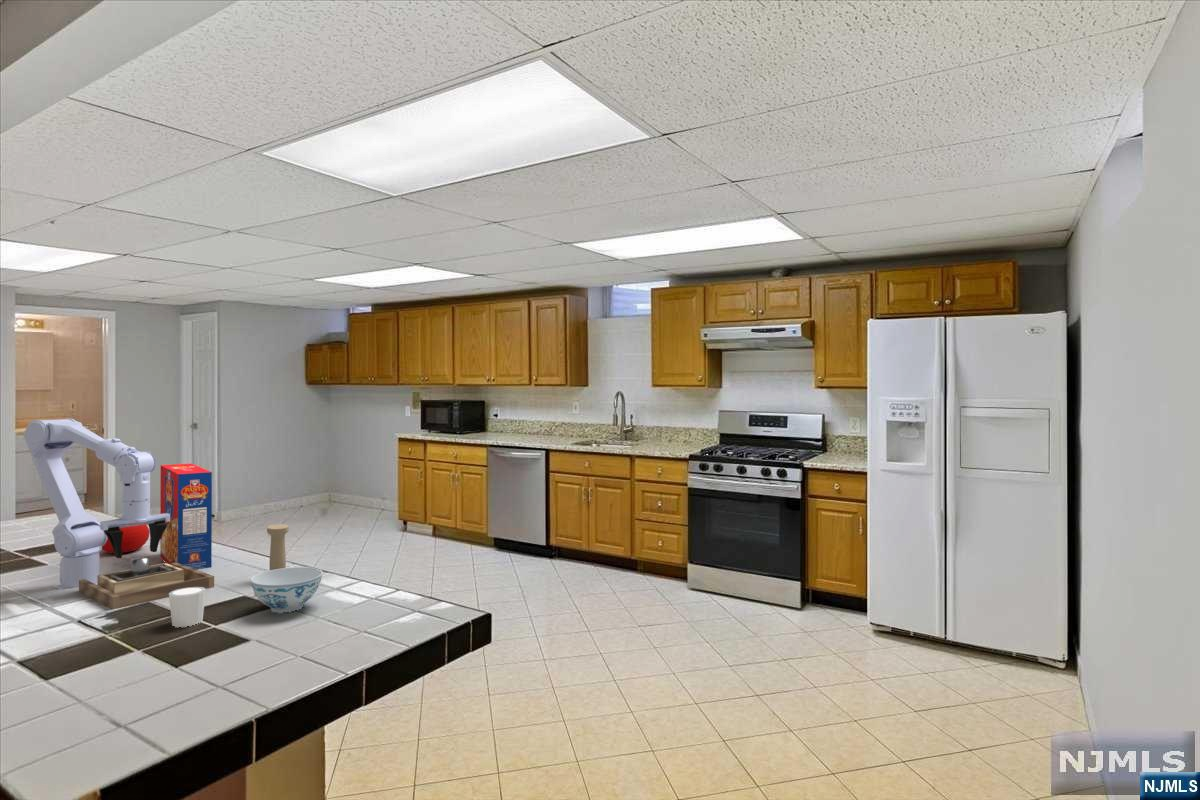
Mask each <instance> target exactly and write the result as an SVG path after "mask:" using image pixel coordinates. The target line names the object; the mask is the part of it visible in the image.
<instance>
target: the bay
mask: <svg viewBox="0 0 1200 800" xmlns="http://www.w3.org/2000/svg"><path fill="white" fill-rule="evenodd" d="M171 565H173V566H175V567H178V568H181V569H183V570H184V581H182V582H177V583H173V584H168V585H163V586H158V587H153V588H148V589H144V590H139V591H134V592H129V593H124V594H119V595H117V594H115V593H112V592H110V591H108V590H106V589H104V588H102V587H100V586H98V585H97V583H96V584H94V583H92V582H90V581H88V580H86V579H83V580H79V587H78V592H79V593H81V594H83V595H85V596H86V597H88V598H90V599H92V600H95V601H96V602H98V603H99V604H102V605H104V606H106V607H108V608H109V609H111V610H117V609H122V608H126V607H129V606H135V605H139V604H143V603H149V602H152V601H157V600H162V599H166V598H169V593H170V592H172V591H174V590H177V589H181V588H188V587H203V588H205V589H206V590H207V589H211V588H215V575H212V574H209V573H206V572H203V571H201V570H200V569H197V570H196V569H193V568H190V567H187V566H185V565H182V564H179V563H176V562H175V563H171Z"/></svg>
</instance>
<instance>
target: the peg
mask: <svg viewBox="0 0 1200 800" xmlns="http://www.w3.org/2000/svg"><path fill="white" fill-rule="evenodd" d="M150 557H151V556H149V555H148V556H147V555H142V556H141V555H140V556H135V557H132V558H131V557H130V564H129V566H130V569H129V570H130V577H135V576H140V575H146V574H150V566H151V564H150V563H151V558H150Z"/></svg>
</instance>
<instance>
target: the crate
mask: <svg viewBox="0 0 1200 800" xmlns="http://www.w3.org/2000/svg"><path fill="white" fill-rule="evenodd" d="M182 581H185V579H184V570H183V569H181V568H178V567H175V566H173V565H170V564H167V563H165V562H163V563H158V564H153V565H150V574H146V575H140V576H135V577H130V569H126V570H120V571H115V572H108V573H103V574H99V575H97V583H96V585H98V586H100V587H102V588H104V589H106V590H108V591H110V592H112V593H115V594H117V595H119V594H124V593H129V592H134V591H139V590H144V589H148V588H153V587H158V586H163V585H168V584H173V583H177V582H182Z"/></svg>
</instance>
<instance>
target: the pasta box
mask: <svg viewBox="0 0 1200 800" xmlns="http://www.w3.org/2000/svg"><path fill="white" fill-rule="evenodd" d="M212 476H213V473H212V471H211V470H208V469H206V468H203V467H202V466H201V467H200V466H198V465H196V464H194V463H176V464H160V481H159V482H160V484H159V485H160V486H159V487H160V497H159V498H160V501H159V502H160V503H159V504H160V513H159V514H165V513H168V514H170V521H169V522H165V523H167V528H166V529H165V531H164V532H163V534H162V536H161V538H160V541H159V545H160V546H159V547H160V548H159V551H160V552H159V555H160V556H159V557H161V558H162V559H163V560H164V561H165V562H166V563H167V564H170V565H171V563H175V562H176V563H179V564H182V565H185V566H187V567H190V568H193V569H196V570H202V569H203V570H204V569H208V568H209V569H210V568H212V565H213V564H212V557H213V556H212V555H213V554H212V548H213V547H212V545H213V543H212V542H213V539H212V538H213V537H212V536H213V535H212V533H213V531H212V529H213V527H212V525H213V520H212V519H213V518H212V517H213V516H212V515H213V514H212V513H213V509H212V507H213V506H212V505H213V503H212V502H213V499H212V498H213V496H212V493H213V492H212V491H213V485H212V483H213V477H212ZM161 558H160V559H161ZM162 559H161V560H162ZM163 560H162V561H163ZM164 561H163V562H164ZM165 562H164V563H165Z"/></svg>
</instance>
